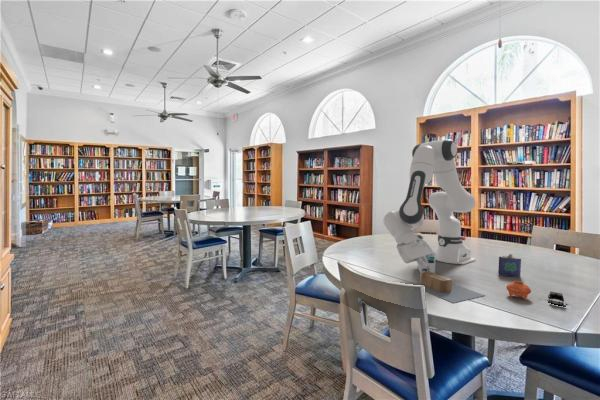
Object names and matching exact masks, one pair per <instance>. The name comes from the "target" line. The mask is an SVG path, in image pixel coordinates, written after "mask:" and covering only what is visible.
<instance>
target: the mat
mask: <svg viewBox="0 0 600 400" xmlns="http://www.w3.org/2000/svg"><path fill="white" fill-rule="evenodd" d="M423 286H425V285H423ZM424 292H426V293H429V294H430V295H433V296H435V297H438V298H440V299H442V300H445V301H447V302H450V303H451V304H455V303H461V302H464V301H469V300H474V299H479V298H482V297H486V295H485V294H482V293H480V292H477V291H475V290H471V289H469V288H467V287H463V286H460V285H459V284H455V283H452V286H451V291H450V292H445V293H441V292H439V291H437V290H434V289H432V288H430V287H427V286H425V291H424Z"/></svg>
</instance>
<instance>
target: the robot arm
mask: <svg viewBox="0 0 600 400" xmlns="http://www.w3.org/2000/svg"><path fill="white" fill-rule="evenodd" d="M411 154H412V155H411V156H412V159H411V164H410V169H409V186H408V189H407V194H406V197H405V200H404V201H403V203H402V204H401V205H400V207H399V210H390V211H389V212H388V213H386V215H385V216H384V217H383V224H384V227H385V228H386V230H387V231H388V233H389V235H391V236H392V237H393V238H394V240H395V243H396V249H397V252H398V254H399V256H400V258H401V259H402V261H403V263H405V264H410V263H412V262H414V263H415V262H416V263H417V264H418V263H419V264H420V265H422V267H423V268H427V267H429V266H430V265H429V263H428V261H427V258H426V257H429V256H430V255H432V254H433V252H434V251H433V249H432V247H430V245H429V244H428V243H427V241H426V240H424V238H425V237H423V236H422V235H421V234H417V233H414V232H413V230H416V229H418V228H420V227H421V226H423V224H424V222H425V215H424V209H423V206H422V202H421V201H422V196H423V192H424V189H425V185H427V184H429V183H430V182H432V179H433V177H434V179H435V182H436V185H437V186H438V187H439V188H441V189H442V190H443V191H435V192H432V193H430V195H429V198H428V205H429V207H430V208H431V209H432V210H433V211H434V212H435V215H436V216H437V219H438V235H437V242H438V243H436V249H435V253H436V258H435V261H438V262H441V263H446V264H454V265H455V264H457V265H467V264H470V263H472V262H475V261H476V258H474V257H472V252H471V251H472V250H471V249H470V248H469V247H468V246H466V244H464V243H463V241H466V239H467V238H466V236H461V232H462V231H461V230H462V223H461V221H460V220H459V219H457V218H456V217H455V215H454V213H461V214H462V213H470V212H472V211H473V210H474V209H475V207H476V205H477V203H476V202H477V201H476V198H475V197H474V195H473V194H472V193H470V192H468V191H467V190H466V189H465V187H464V186H463V185H462V184H461V182H460V179H459V176H458V175H459V174H458V172H457V167H456V166H457V165H456V161H455V158H456V156H457V154H458V145H457V143H456V142H455V141H454V140H453V139H442V140H441V139H439V140H432V141H429V142H424V143H419V144H416V145H415V146H414V147H413V149H412V152H411Z"/></svg>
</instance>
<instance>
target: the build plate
mask: <svg viewBox="0 0 600 400" xmlns="http://www.w3.org/2000/svg"><path fill="white" fill-rule="evenodd" d="M546 300H547V301H548V303H551V304H554V305H558V306H563V307H566V305H564V302H565V298H564V295H563V293H560V292H554V291H549V293H548V295H547V299H546Z"/></svg>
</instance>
